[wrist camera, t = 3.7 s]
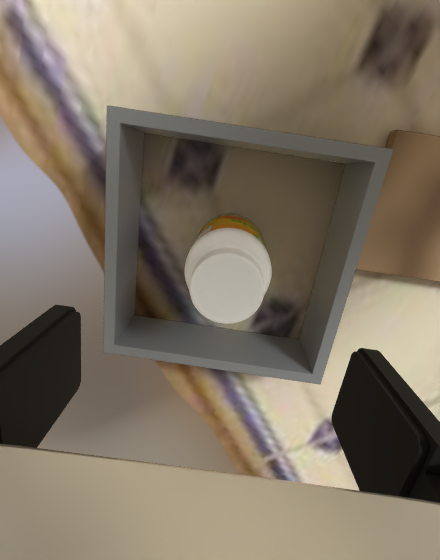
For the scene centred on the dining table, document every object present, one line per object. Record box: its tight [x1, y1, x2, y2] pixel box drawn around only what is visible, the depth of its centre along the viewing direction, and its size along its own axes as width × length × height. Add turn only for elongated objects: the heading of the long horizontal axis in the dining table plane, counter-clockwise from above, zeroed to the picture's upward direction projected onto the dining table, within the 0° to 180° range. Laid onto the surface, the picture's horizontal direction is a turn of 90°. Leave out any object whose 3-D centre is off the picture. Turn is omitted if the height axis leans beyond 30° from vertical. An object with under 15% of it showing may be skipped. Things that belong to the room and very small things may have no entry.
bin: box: [103, 106, 393, 384], centre depth 23 cm, size 17×17×5 cm
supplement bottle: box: [185, 214, 272, 324], centre depth 21 cm, size 5×5×10 cm
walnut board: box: [356, 130, 440, 282], centre depth 23 cm, size 10×10×1 cm
